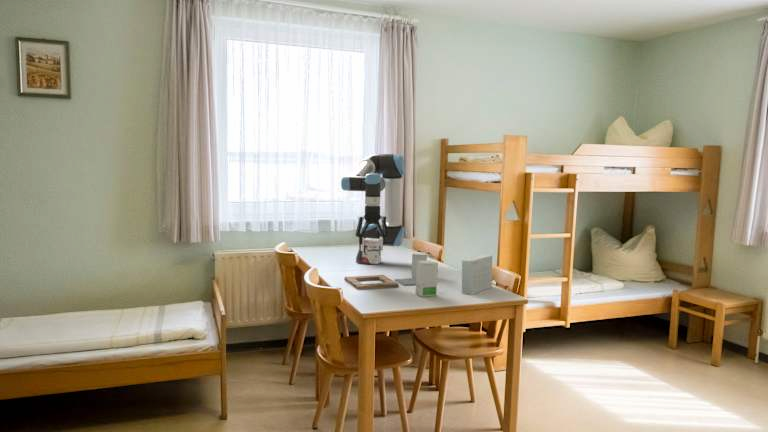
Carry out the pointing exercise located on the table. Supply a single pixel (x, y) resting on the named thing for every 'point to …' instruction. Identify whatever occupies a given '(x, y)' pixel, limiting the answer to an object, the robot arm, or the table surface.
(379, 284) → the board
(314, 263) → the table surface
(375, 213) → the robot arm
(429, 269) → the skincare box
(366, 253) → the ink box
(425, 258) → the supplement box
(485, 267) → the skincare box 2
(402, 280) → the mat
